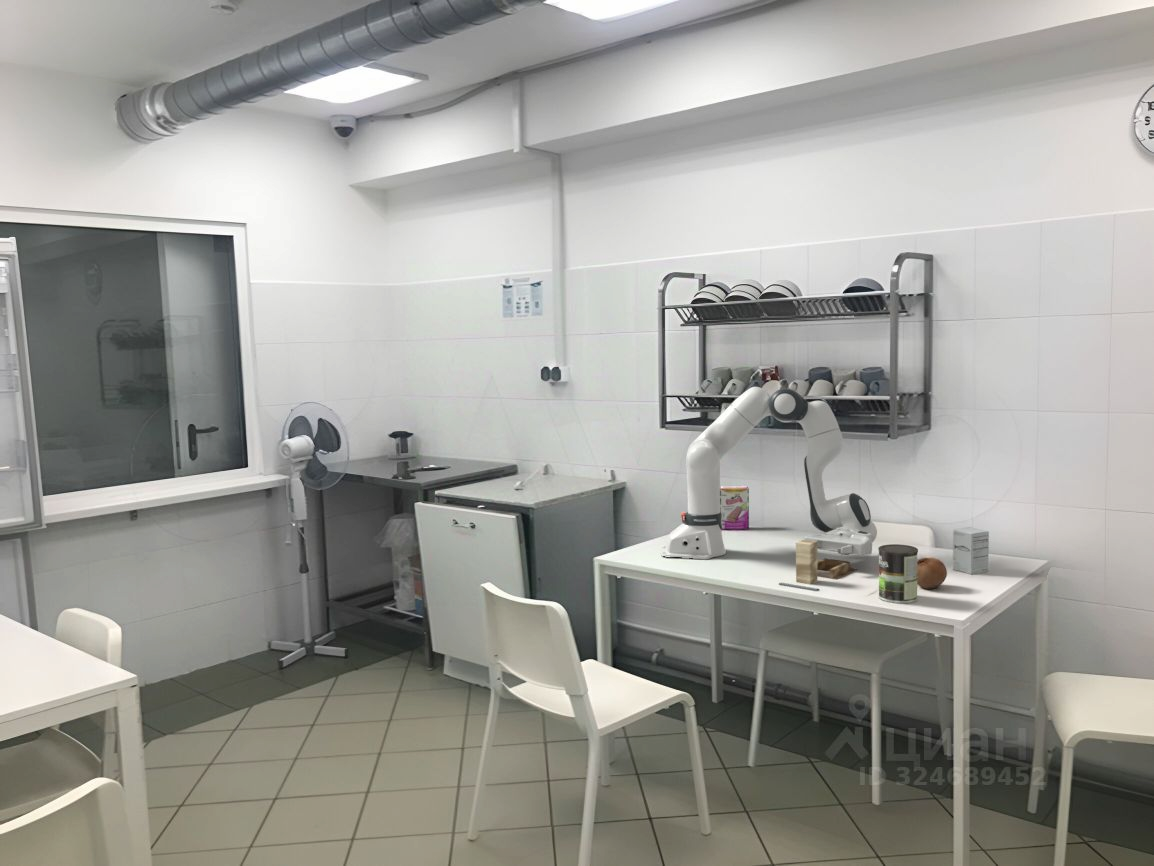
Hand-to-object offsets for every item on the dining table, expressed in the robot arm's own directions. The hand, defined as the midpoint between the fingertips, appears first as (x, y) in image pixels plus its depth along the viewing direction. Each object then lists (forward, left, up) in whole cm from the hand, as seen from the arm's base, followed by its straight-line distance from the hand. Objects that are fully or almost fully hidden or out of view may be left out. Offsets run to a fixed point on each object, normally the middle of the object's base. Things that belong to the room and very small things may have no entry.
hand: (825, 548), depth 275 cm
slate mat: (-7, -10, -8) cm, 14 cm away
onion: (+27, -14, -8) cm, 31 cm away
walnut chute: (+2, +3, -8) cm, 9 cm away
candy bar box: (-24, +70, -8) cm, 74 cm away
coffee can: (+16, -25, -8) cm, 31 cm away
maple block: (-7, -9, -8) cm, 14 cm away
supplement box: (+44, +5, -8) cm, 45 cm away
